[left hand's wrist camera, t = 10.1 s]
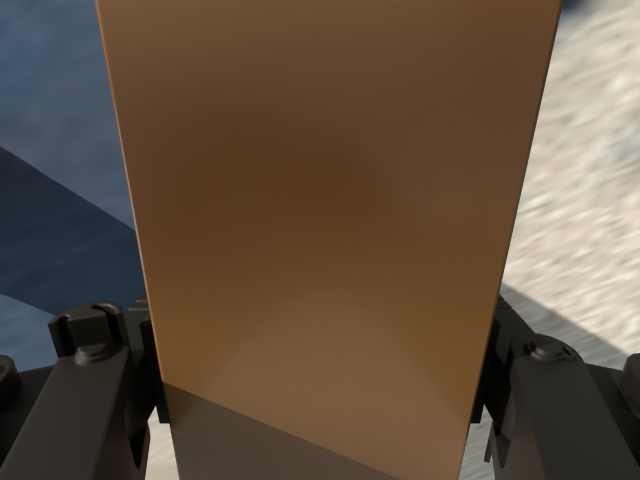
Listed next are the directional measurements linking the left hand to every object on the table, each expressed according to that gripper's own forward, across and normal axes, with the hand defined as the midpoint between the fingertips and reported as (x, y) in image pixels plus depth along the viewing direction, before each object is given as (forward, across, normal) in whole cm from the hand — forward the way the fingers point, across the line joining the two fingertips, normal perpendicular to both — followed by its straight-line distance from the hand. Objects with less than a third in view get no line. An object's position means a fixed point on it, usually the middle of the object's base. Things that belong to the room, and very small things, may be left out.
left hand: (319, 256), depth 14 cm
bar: (0, 0, -20) cm, 20 cm away
